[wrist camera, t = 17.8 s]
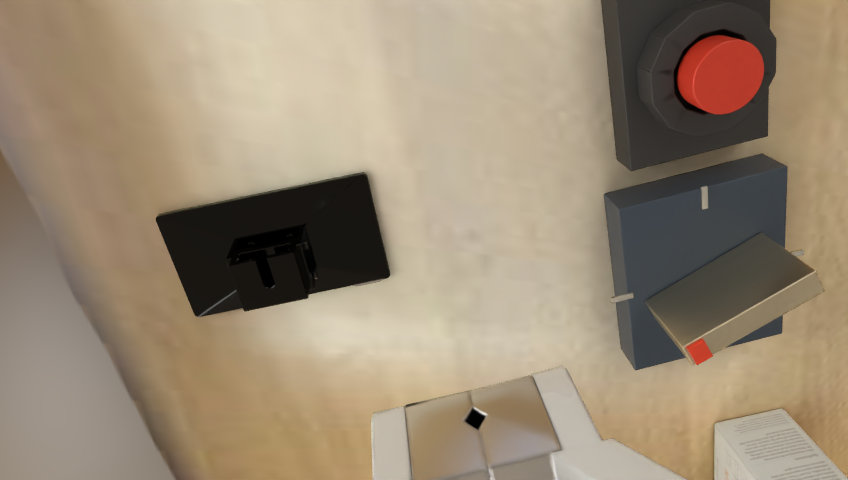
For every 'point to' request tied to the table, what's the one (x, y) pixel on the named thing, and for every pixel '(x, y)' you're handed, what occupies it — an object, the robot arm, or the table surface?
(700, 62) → the button
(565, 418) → the robot arm
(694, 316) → the pointer
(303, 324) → the table surface
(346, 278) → the build plate
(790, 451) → the small box
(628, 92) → the button box
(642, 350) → the dial panel
